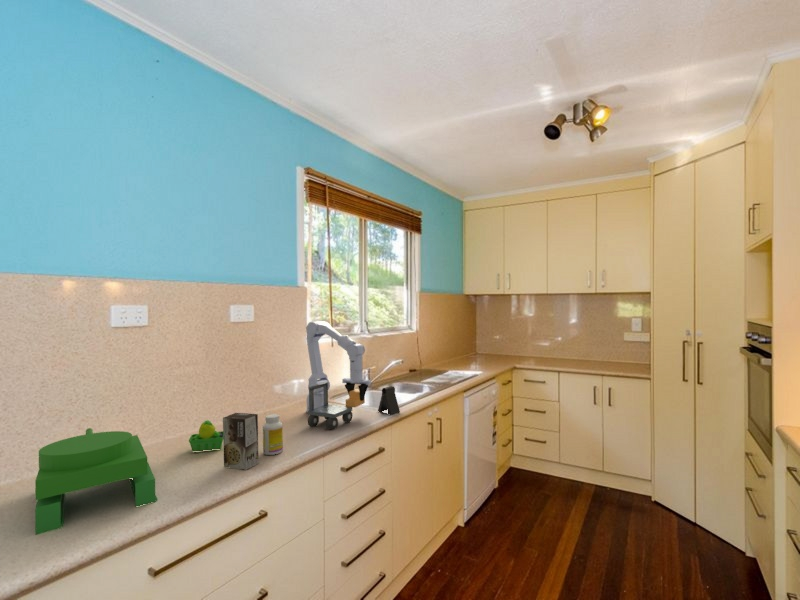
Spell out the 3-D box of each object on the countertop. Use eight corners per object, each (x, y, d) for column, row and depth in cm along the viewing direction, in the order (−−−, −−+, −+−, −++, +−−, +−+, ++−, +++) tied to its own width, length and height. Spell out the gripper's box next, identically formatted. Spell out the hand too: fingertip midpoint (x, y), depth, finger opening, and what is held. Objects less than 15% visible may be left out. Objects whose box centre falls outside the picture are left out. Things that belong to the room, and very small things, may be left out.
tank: (143, 465, 134) (142, 416, 135) (157, 502, 107) (156, 440, 107) (46, 487, 119) (45, 431, 120) (34, 536, 92) (33, 464, 92)
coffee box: (259, 463, 132) (258, 413, 132) (246, 470, 126) (245, 419, 126) (237, 460, 135) (236, 411, 135) (222, 467, 129) (222, 417, 129)
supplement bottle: (286, 450, 143) (286, 414, 143) (273, 456, 137) (273, 419, 137) (272, 448, 146) (271, 412, 146) (258, 454, 140) (258, 417, 140)
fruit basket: (225, 444, 151) (225, 414, 152) (223, 452, 143) (222, 420, 143) (192, 448, 148) (191, 417, 148) (187, 456, 139) (187, 423, 139)
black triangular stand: (400, 412, 191) (399, 387, 191) (391, 415, 187) (390, 389, 187) (386, 409, 197) (386, 385, 198) (377, 412, 193) (377, 387, 193)
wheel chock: (345, 406, 180) (345, 392, 180) (355, 401, 188) (355, 389, 188) (355, 407, 178) (354, 394, 178) (364, 403, 185) (364, 390, 185)
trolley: (308, 414, 172) (307, 387, 172) (326, 407, 183) (326, 381, 184) (334, 418, 166) (334, 389, 166) (352, 410, 177) (351, 384, 177)
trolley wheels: (307, 427, 170) (307, 415, 170) (330, 417, 184) (330, 406, 184) (330, 431, 165) (330, 418, 165) (352, 420, 179) (352, 409, 179)
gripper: (338, 370, 184) (338, 400, 184) (365, 372, 177) (365, 403, 177) (347, 368, 190) (347, 397, 190) (373, 369, 184) (373, 399, 184)
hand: (356, 399), depth 184 cm, fingers closed on wheel chock, 5 cm apart
